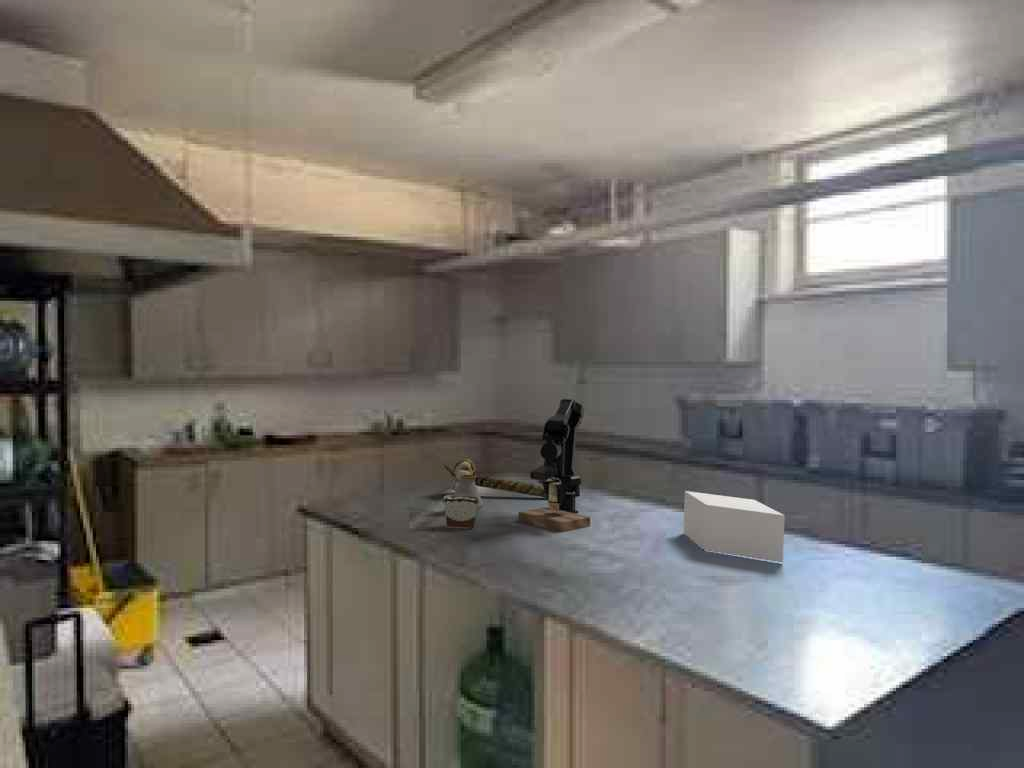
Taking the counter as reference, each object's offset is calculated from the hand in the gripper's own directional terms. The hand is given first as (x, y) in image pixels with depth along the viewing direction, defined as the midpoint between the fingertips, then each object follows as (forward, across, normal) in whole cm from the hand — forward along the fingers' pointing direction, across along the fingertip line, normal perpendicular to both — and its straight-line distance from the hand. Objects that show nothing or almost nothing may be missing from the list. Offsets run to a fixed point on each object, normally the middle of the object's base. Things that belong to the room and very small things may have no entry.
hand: (554, 502), depth 254 cm
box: (+7, +55, +19) cm, 59 cm away
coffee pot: (+7, -37, -11) cm, 39 cm away
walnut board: (+7, 0, 0) cm, 7 cm away
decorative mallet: (+8, -44, +17) cm, 48 cm away
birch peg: (+2, 0, 0) cm, 3 cm away
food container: (+7, -16, -27) cm, 32 cm away
